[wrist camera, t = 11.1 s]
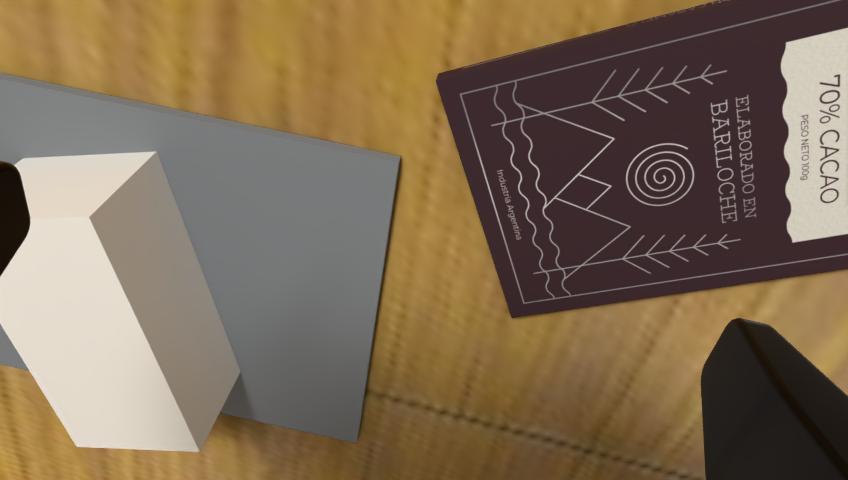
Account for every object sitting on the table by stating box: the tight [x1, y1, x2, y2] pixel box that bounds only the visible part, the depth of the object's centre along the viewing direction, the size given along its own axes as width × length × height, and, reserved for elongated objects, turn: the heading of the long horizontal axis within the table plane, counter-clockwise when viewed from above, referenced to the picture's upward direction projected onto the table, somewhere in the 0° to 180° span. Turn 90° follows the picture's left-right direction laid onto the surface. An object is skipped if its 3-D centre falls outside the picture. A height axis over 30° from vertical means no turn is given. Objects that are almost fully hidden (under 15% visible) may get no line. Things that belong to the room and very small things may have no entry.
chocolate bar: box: [436, 0, 848, 318], centre depth 19 cm, size 9×1×18 cm
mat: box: [0, 73, 401, 443], centre depth 25 cm, size 18×14×1 cm
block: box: [0, 151, 241, 452], centre depth 23 cm, size 10×5×4 cm, turn 7°
